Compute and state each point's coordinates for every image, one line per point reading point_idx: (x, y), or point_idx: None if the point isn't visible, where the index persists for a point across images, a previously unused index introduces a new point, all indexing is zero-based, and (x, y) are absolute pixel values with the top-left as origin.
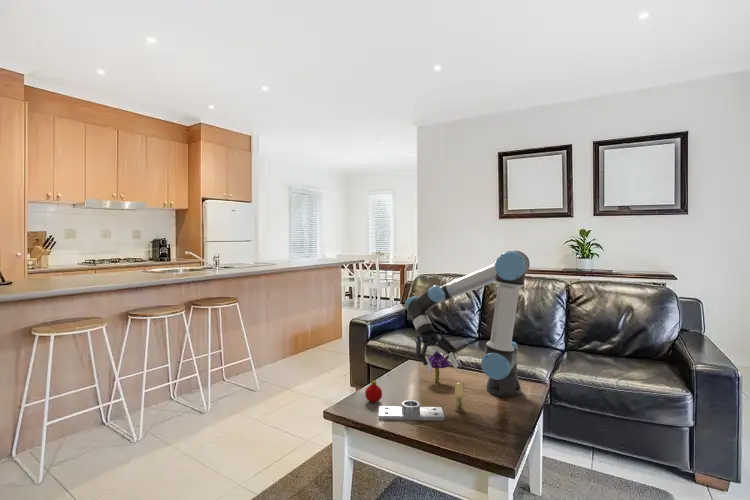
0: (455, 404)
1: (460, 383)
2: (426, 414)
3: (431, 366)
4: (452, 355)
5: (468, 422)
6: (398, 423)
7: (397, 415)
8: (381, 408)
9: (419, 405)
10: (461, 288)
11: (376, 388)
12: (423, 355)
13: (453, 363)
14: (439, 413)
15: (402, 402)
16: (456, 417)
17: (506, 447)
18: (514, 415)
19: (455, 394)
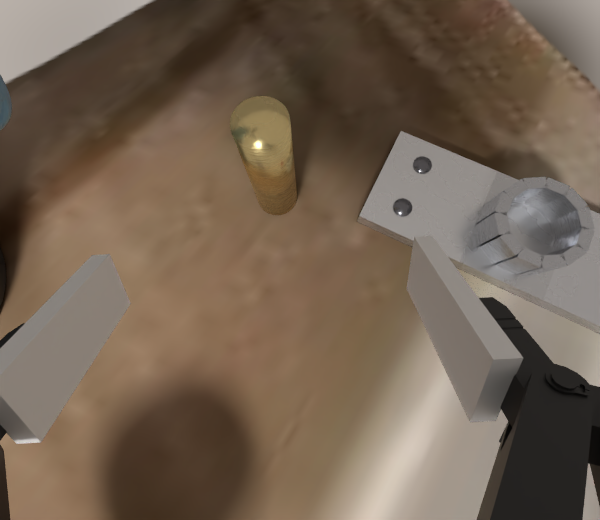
0: (295, 187)
1: (260, 114)
2: (463, 176)
3: (429, 255)
4: (32, 339)
5: (317, 96)
6: (591, 189)
7: (597, 217)
8: None
9: (506, 189)
10: None
11: None
12: (565, 372)
13: (102, 319)
14: (403, 163)
15: (583, 251)
16: (333, 145)
17: None
18: (116, 78)
19: (293, 164)
